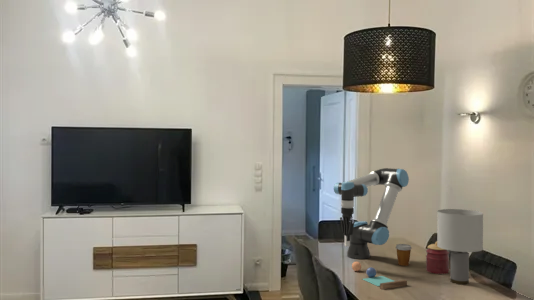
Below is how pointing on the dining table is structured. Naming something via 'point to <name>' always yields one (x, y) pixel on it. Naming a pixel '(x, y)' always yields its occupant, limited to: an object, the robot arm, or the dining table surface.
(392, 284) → the wall
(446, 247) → the lamp
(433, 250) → the canister
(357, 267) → the orange sphere
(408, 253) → the disposable coffee cup
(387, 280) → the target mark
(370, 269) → the object ball
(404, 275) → the dining table surface
